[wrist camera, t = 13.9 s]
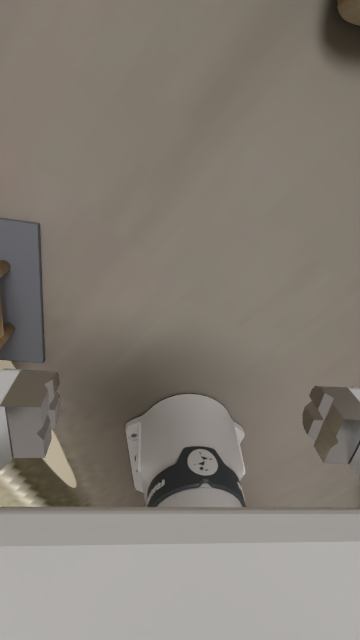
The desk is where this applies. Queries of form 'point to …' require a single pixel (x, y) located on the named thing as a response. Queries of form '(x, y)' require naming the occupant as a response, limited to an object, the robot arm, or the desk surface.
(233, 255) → the desk surface
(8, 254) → the charcoal mat
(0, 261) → the oak stool
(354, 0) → the ceramic mug
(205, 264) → the desk surface
